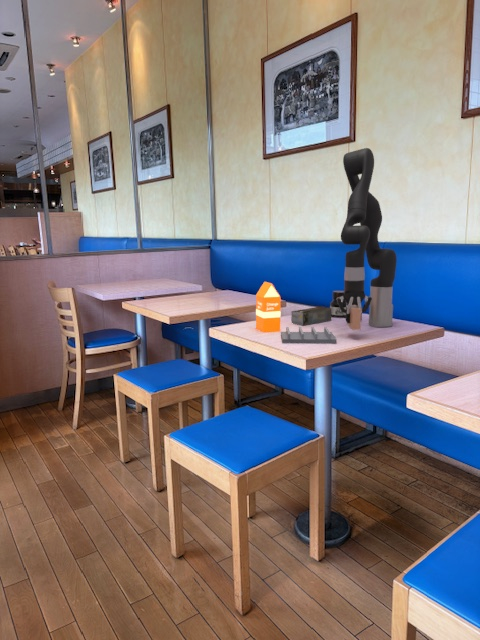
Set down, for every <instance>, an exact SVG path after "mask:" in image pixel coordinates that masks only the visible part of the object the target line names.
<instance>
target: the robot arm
mask: <svg viewBox="0 0 480 640" xmlns="http://www.w3.org/2000/svg"><path fill="white" fill-rule="evenodd" d="M342 160H343V161H342V163H343V164H342V165H343V168H344V172H345V175H346V177H347V180H348V184H349V187H350V189H351V194H350V195H349V198H348V201H347V214H346V218H345V222H344V223H343V227H342V230H341V233H340V239H341V243H342V244H344V245H349V246H350V245H359V246H358V248H356V249H354V250H350V251H349V250H348V251H347V252H346V253H345V259H344V260H345V261H344V262H345V263H344V264H345V267H344V273H343V274H344V277H343V280H344V283H343V285H344V287H343V289H344V290H343V291H344V294H343V296H341V297H337V298H336V300H337V302H338V304H339V307H340V309H341V311H342V312H343V313H346V317H345V321H346V324H347V323H350V308H351V306H352V305H356V306H357V307H359V308H360V309H361V321H363V320H362V318H363V316H362V315H363V313H366V312H367V311H368V325H369V326H370V327H375V328H388V327H393V314H394V313H393V312H394V304H393V285H394V281H395V279H396V270H397V263H398V262H397V253H396V252H395V250H394V249H391V248H382V247H380V243H379V237H378V236H379V232H380V228H381V226H382V222H383V214H382V211H381V210H382V209H381V206H380V202H379V201H378V199H377V198H376V197H375V196H374V195H373V193H371V192H370V186H371V182H372V177H373V173H374V167H375V156H374V153H373V151H372V150H371V148H368V147H365V148H361V149H357V150H353V151H349V152H347V153H345V154H344V155H343V159H342ZM359 175H361V176H360V177H359ZM357 224H360V225H357ZM365 254H366V255H365ZM365 256H366V259H367V264H368V266H369V267H370V269H371V270H376V271H379V274H378V276H376V277H373V278H372V279H370V287H369V288H370V289H369V290H370V293H369V295H368V296H367V295H366V294H365V278H366V275H365ZM343 299H345V301H346V302H347V305H346V309H344V306H343V304H342V302H343ZM363 301H364V304H363V306H362V302H363Z"/></svg>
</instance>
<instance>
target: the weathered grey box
mask: <svg viewBox="0 0 480 640" xmlns="http://www.w3.org/2000/svg"><path fill="white" fill-rule="evenodd" d="M290 314H291V324H292V323H293V324H292V325H296V324H297V325H296V326H300V327H304V326H311V325H315V324H319V323H325V322H331V321H332V316H331V308H330V307H326V306H318V305H317V306H315V307H309V308H305V309H298V310H291V313H290Z"/></svg>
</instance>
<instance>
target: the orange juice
mask: <svg viewBox="0 0 480 640" xmlns="http://www.w3.org/2000/svg"><path fill="white" fill-rule="evenodd" d="M281 302H282V299H281V295H280V294H279V292H278V290H276V288H275V285H274V284H273V283H271V282H267V281H264V282H263V284H262V285H261V286H260V288H259V290H258V291H257V293H256V294H255V329H256V330H257V331H260V332H262V334H263V333H277V332H281V314H282V313H281Z"/></svg>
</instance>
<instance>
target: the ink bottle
mask: <svg viewBox="0 0 480 640" xmlns="http://www.w3.org/2000/svg"><path fill="white" fill-rule="evenodd" d="M343 294H344V290H332V301H330V302H329V308H331V318H346V313H343V312H342V311H341V309H340V307H339V304H338V302H337V300H336V298H337V297H341V296H343ZM342 304H343V306H344V309H346V305H347V302H346V301H345V299H343V302H342Z"/></svg>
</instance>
